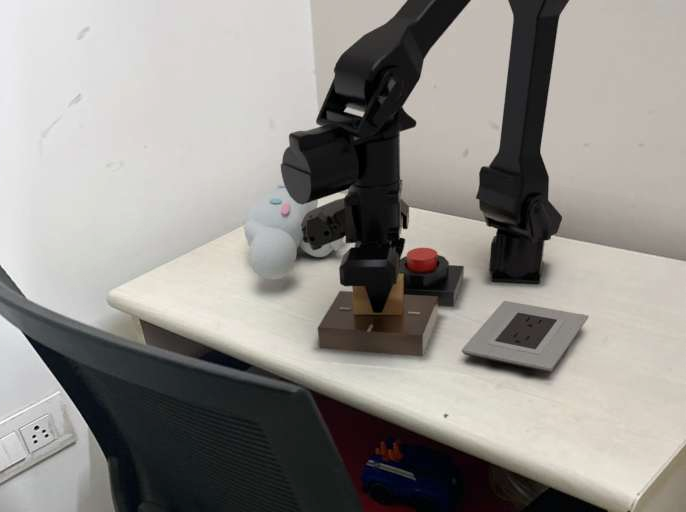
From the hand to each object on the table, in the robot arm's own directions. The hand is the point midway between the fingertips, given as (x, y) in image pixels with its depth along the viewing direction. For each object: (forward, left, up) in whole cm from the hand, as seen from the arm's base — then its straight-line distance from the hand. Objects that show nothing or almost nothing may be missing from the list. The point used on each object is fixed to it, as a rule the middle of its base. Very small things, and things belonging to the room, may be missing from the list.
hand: (378, 307), depth 95 cm
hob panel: (0, 0, -4) cm, 4 cm away
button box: (-3, -12, -4) cm, 13 cm away
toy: (+18, -22, -4) cm, 29 cm away
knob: (0, 0, 0) cm, 0 cm away
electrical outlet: (-18, +1, -4) cm, 18 cm away
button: (-3, -12, 0) cm, 12 cm away
